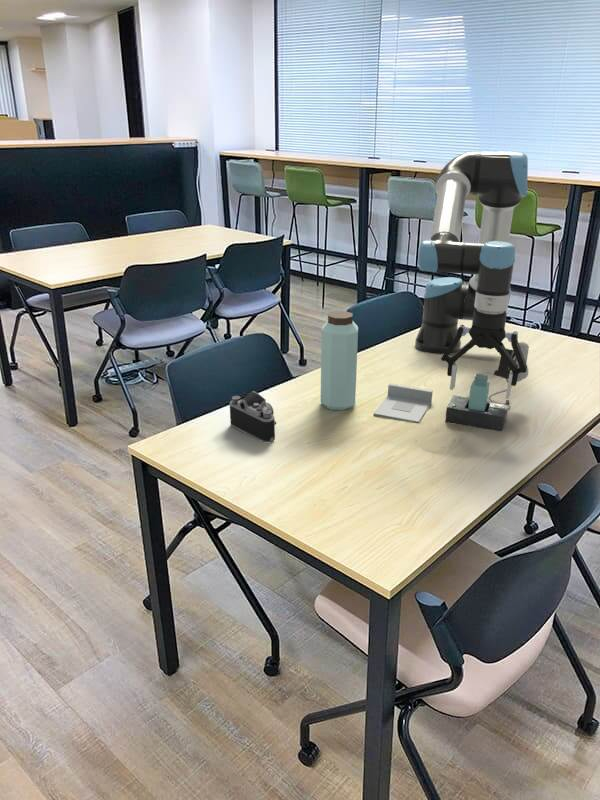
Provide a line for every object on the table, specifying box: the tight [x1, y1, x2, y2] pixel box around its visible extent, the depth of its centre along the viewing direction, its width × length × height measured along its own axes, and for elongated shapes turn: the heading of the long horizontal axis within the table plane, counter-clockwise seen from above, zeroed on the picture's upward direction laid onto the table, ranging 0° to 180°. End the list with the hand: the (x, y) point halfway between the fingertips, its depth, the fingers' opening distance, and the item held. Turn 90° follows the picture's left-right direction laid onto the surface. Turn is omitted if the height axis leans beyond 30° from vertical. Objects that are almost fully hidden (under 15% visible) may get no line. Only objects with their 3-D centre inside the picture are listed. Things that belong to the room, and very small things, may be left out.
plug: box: [468, 373, 491, 412], centre depth 158 cm, size 4×4×12 cm
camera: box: [229, 390, 277, 443], centre depth 155 cm, size 16×8×10 cm, turn 44°
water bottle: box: [320, 310, 359, 411], centre depth 166 cm, size 10×10×25 cm
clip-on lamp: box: [488, 341, 530, 405], centre depth 165 cm, size 12×6×18 cm, turn 135°
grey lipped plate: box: [373, 383, 433, 424], centre depth 167 cm, size 14×12×4 cm
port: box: [444, 395, 512, 432], centre depth 160 cm, size 8×15×5 cm, turn 66°
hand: (479, 392), depth 158 cm, fingers open, 13 cm apart
